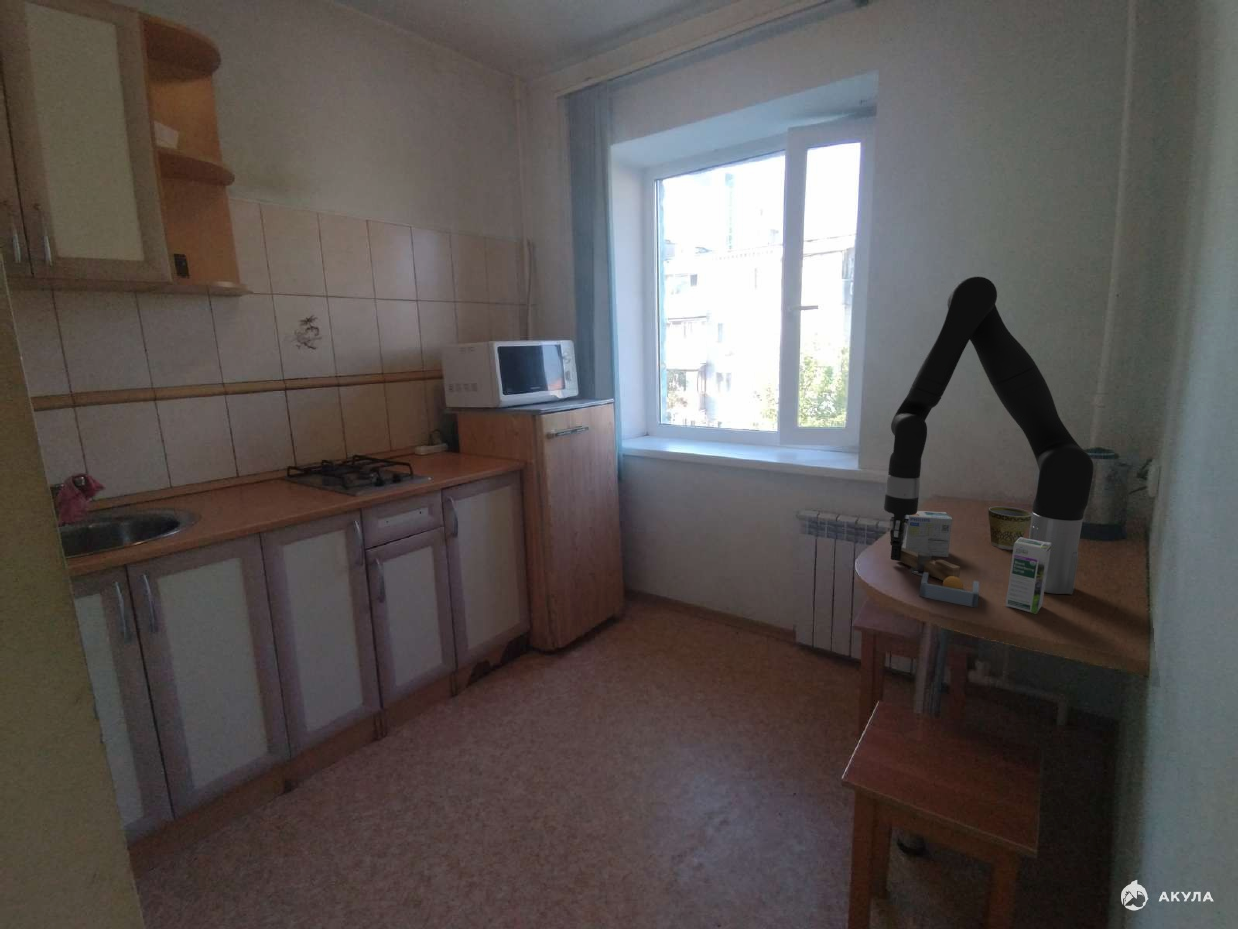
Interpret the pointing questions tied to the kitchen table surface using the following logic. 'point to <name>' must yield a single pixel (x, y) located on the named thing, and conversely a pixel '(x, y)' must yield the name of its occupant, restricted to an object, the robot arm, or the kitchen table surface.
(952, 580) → the ball
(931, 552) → the light bulb box
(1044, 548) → the syrup box
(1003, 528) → the ceramic cup
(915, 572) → the pivot base
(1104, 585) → the kitchen table surface
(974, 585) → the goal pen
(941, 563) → the tan wooden bar
